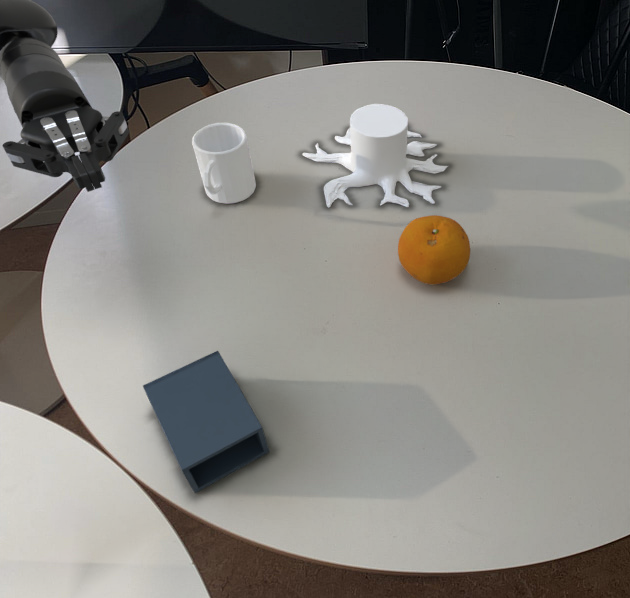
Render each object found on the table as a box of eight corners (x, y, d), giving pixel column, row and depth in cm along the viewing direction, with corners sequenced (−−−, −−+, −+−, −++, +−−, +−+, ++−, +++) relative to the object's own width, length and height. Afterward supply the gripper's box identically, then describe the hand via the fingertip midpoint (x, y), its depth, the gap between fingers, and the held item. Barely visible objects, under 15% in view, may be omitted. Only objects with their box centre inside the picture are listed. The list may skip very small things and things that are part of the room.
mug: (190, 217, 94) (174, 166, 86) (214, 170, 102) (202, 119, 94) (241, 223, 94) (229, 172, 86) (261, 175, 101) (252, 124, 94)
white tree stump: (459, 204, 98) (466, 157, 91) (306, 214, 95) (300, 166, 88) (435, 123, 113) (439, 77, 105) (301, 130, 110) (296, 83, 102)
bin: (142, 385, 67) (181, 470, 61) (217, 350, 71) (262, 427, 65) (157, 411, 72) (195, 493, 66) (227, 377, 76) (269, 451, 69)
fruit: (387, 284, 86) (388, 244, 80) (409, 236, 93) (411, 196, 87) (457, 302, 85) (463, 264, 79) (474, 252, 91) (481, 213, 85)
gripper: (-31, 86, 64) (4, 174, 55) (96, 56, 69) (146, 132, 61) (2, 144, 70) (38, 233, 61) (116, 112, 75) (165, 190, 66)
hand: (92, 182), depth 61 cm, fingers closed
